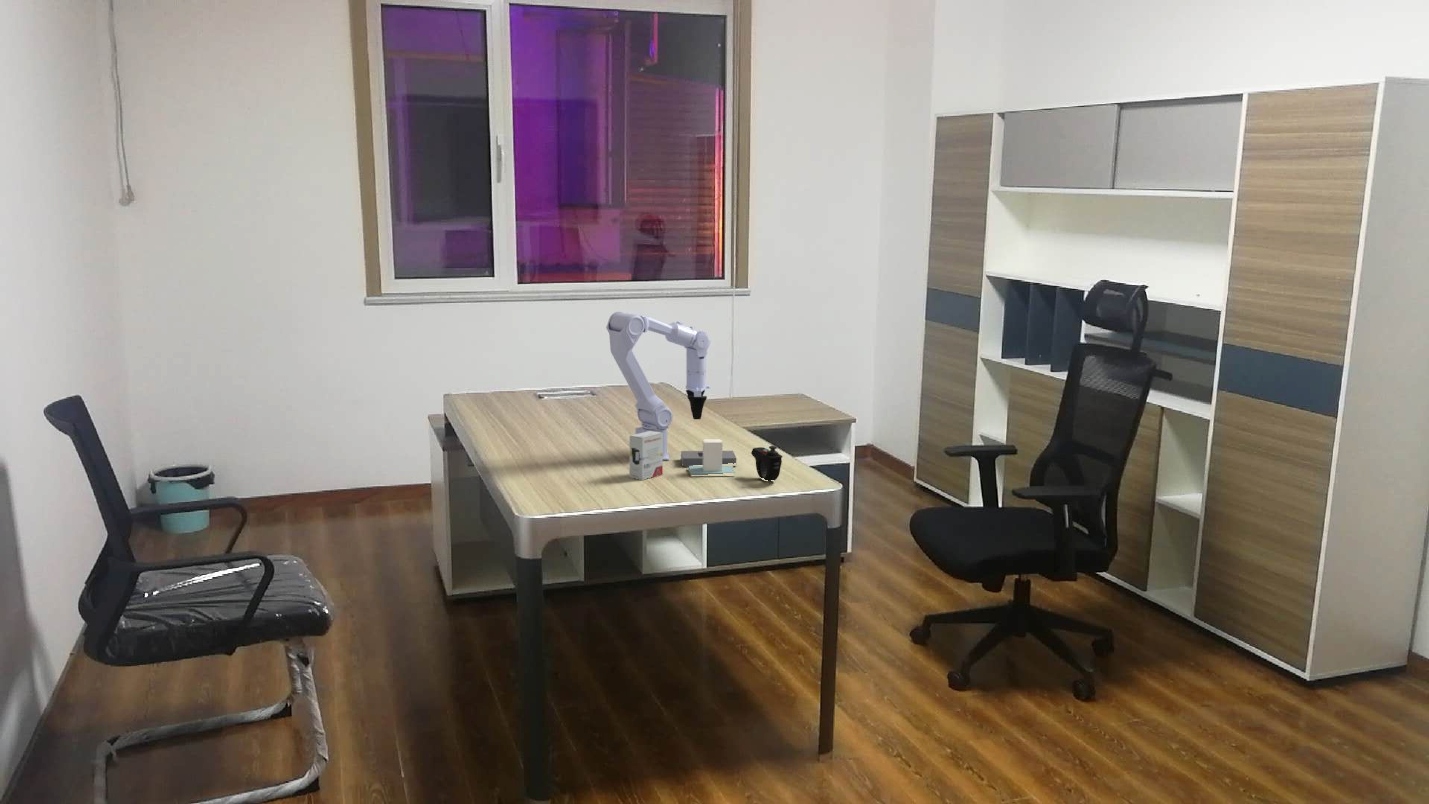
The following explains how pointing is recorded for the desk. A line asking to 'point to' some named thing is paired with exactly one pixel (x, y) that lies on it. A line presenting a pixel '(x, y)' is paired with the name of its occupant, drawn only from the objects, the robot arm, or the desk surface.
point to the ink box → (646, 455)
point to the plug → (712, 454)
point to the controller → (767, 462)
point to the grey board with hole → (697, 457)
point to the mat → (699, 471)
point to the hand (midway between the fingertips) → (696, 416)
